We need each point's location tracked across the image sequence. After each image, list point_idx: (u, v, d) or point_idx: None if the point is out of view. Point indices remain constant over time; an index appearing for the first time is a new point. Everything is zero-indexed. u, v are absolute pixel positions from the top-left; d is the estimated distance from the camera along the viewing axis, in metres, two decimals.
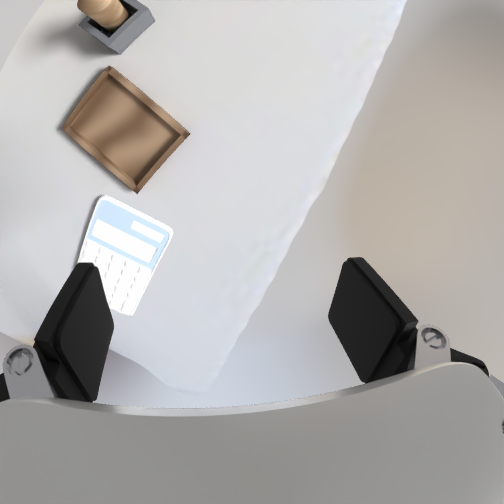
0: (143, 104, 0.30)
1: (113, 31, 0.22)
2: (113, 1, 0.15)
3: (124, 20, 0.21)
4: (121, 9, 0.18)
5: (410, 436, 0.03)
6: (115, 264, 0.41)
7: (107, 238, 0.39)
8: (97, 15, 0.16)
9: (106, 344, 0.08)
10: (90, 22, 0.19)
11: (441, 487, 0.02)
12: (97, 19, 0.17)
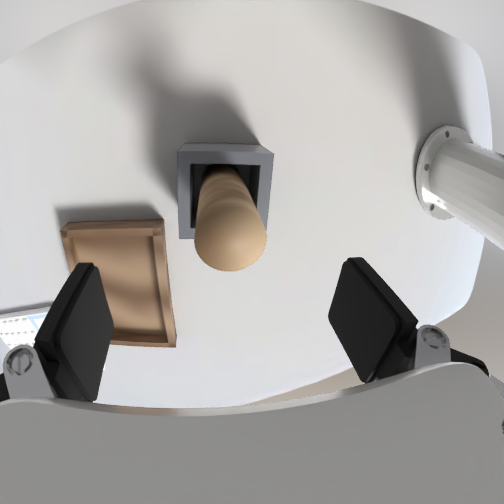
0: (158, 289, 0.29)
1: None
2: None
3: None
4: None
5: (411, 437, 0.03)
6: None
7: None
8: None
9: (106, 344, 0.08)
10: None
11: (441, 487, 0.02)
12: None
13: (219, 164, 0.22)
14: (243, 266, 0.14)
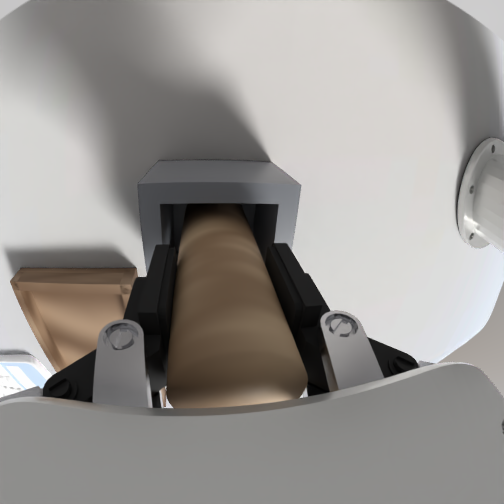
0: None
1: None
2: None
3: None
4: None
5: (411, 436, 0.03)
6: None
7: (21, 379, 0.21)
8: None
9: None
10: None
11: (441, 487, 0.02)
12: None
13: None
14: None
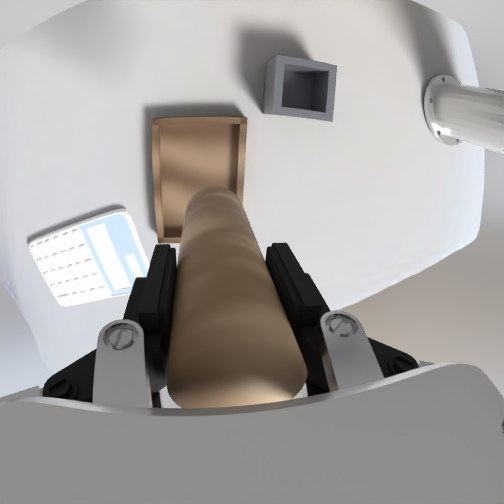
0: (233, 180, 0.33)
1: None
2: None
3: None
4: None
5: (411, 437, 0.03)
6: (85, 267, 0.35)
7: (97, 244, 0.34)
8: None
9: None
10: (284, 64, 0.23)
11: (441, 487, 0.02)
12: None
13: (210, 192, 0.15)
14: None
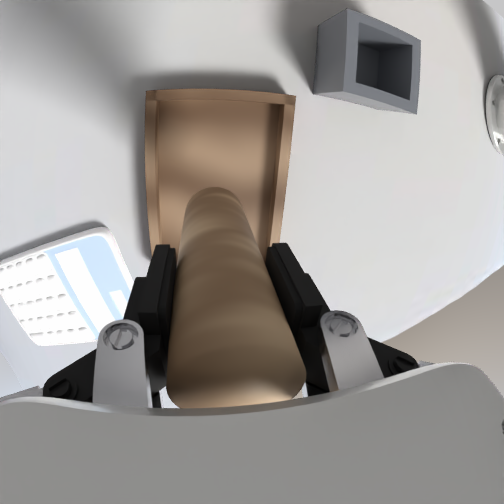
0: (267, 188, 0.22)
1: None
2: None
3: None
4: None
5: (410, 436, 0.03)
6: (58, 303, 0.24)
7: (71, 275, 0.23)
8: None
9: None
10: None
11: (441, 487, 0.02)
12: None
13: (210, 193, 0.15)
14: None
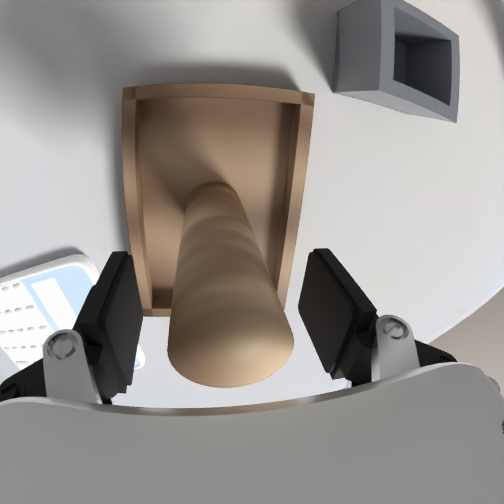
0: (277, 209, 0.18)
1: None
2: None
3: None
4: None
5: (411, 437, 0.03)
6: (41, 334, 0.20)
7: (51, 306, 0.19)
8: None
9: (138, 331, 0.09)
10: None
11: (441, 487, 0.02)
12: None
13: (210, 187, 0.16)
14: (253, 381, 0.08)
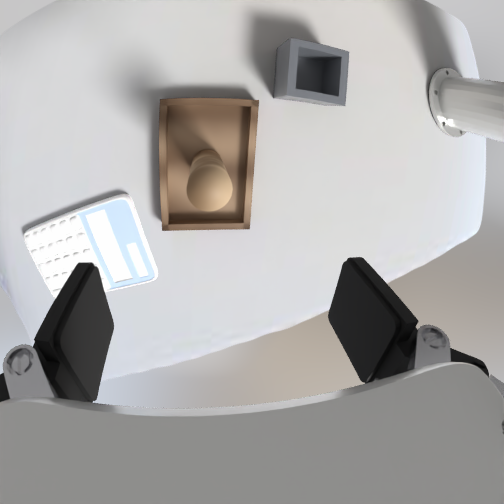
0: (242, 164, 0.32)
1: None
2: None
3: None
4: None
5: (411, 436, 0.03)
6: (83, 257, 0.33)
7: (97, 232, 0.32)
8: None
9: (106, 344, 0.08)
10: (298, 48, 0.22)
11: (441, 487, 0.02)
12: None
13: (204, 150, 0.29)
14: (218, 207, 0.21)
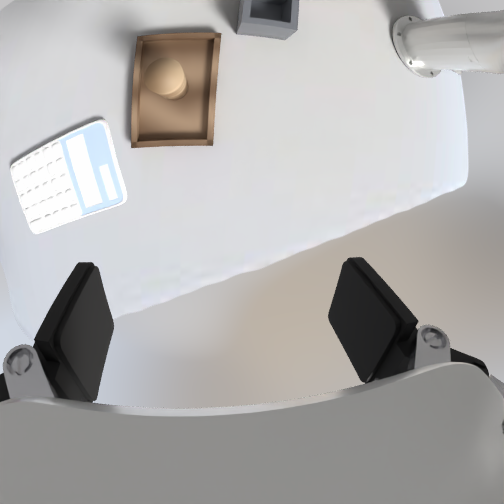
0: (207, 88, 0.30)
1: None
2: (176, 91, 0.22)
3: (175, 97, 0.27)
4: (179, 93, 0.25)
5: (411, 437, 0.03)
6: (60, 182, 0.32)
7: (74, 156, 0.31)
8: None
9: (106, 344, 0.08)
10: None
11: (441, 487, 0.02)
12: None
13: None
14: (170, 89, 0.20)
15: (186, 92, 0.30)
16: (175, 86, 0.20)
